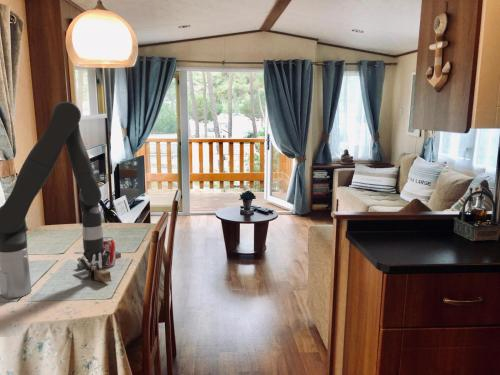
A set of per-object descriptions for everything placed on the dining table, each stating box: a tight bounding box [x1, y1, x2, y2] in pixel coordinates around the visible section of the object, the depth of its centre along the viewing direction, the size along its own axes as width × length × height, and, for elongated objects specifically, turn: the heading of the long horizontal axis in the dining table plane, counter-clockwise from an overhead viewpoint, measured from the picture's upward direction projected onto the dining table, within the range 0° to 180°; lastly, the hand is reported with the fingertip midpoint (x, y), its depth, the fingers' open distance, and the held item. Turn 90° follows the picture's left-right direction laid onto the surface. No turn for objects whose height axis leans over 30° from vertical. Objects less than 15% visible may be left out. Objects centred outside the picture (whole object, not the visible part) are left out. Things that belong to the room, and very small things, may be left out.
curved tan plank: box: [72, 267, 112, 284], centre depth 168 cm, size 20×6×4 cm, turn 53°
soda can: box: [101, 236, 117, 268], centre depth 181 cm, size 7×7×12 cm
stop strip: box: [76, 251, 122, 271], centre depth 185 cm, size 20×3×2 cm, turn 143°
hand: (95, 277), depth 167 cm, fingers closed on curved tan plank, 2 cm apart
